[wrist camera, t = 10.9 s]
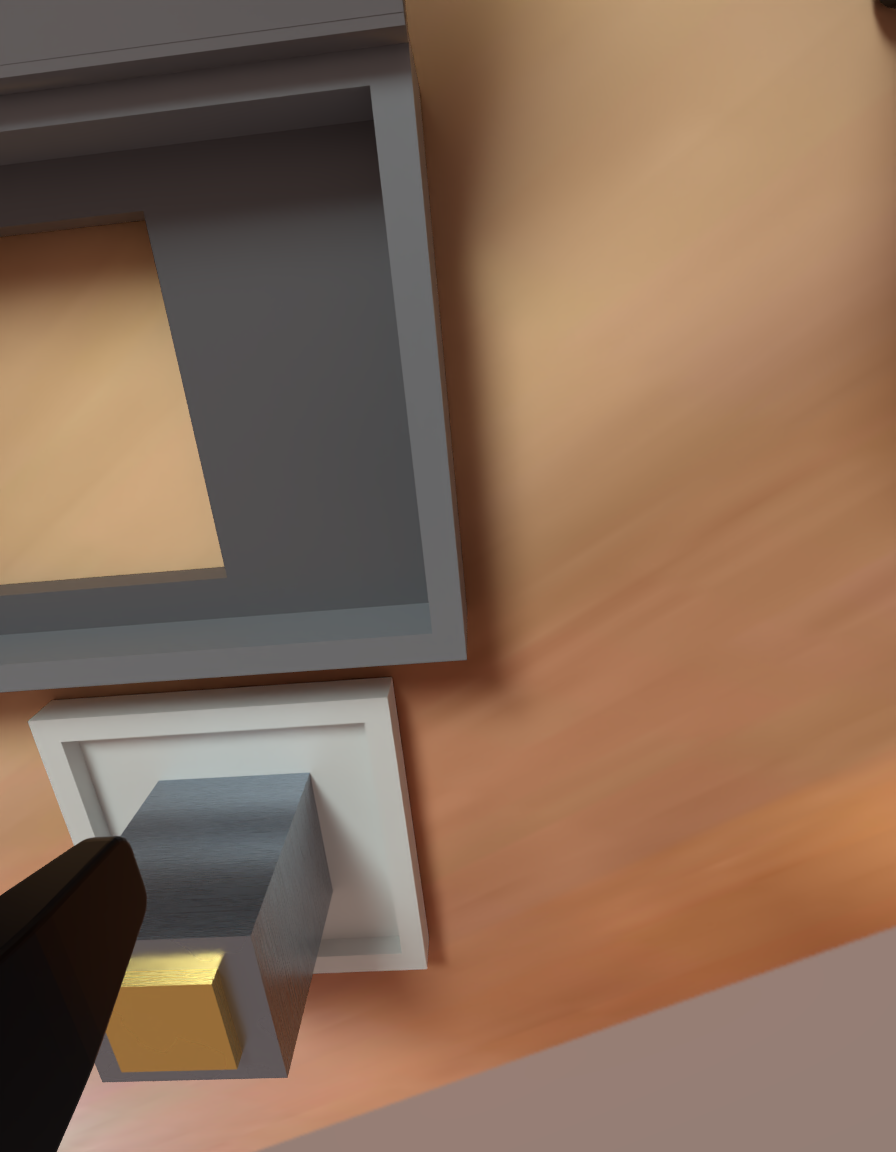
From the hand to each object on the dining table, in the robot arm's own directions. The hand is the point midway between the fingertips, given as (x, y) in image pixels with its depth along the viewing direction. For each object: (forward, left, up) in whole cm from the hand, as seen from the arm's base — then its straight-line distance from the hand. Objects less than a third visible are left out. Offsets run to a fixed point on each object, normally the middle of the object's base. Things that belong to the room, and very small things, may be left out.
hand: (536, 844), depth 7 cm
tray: (+9, +10, -12) cm, 18 cm away
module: (+9, +10, -12) cm, 18 cm away
